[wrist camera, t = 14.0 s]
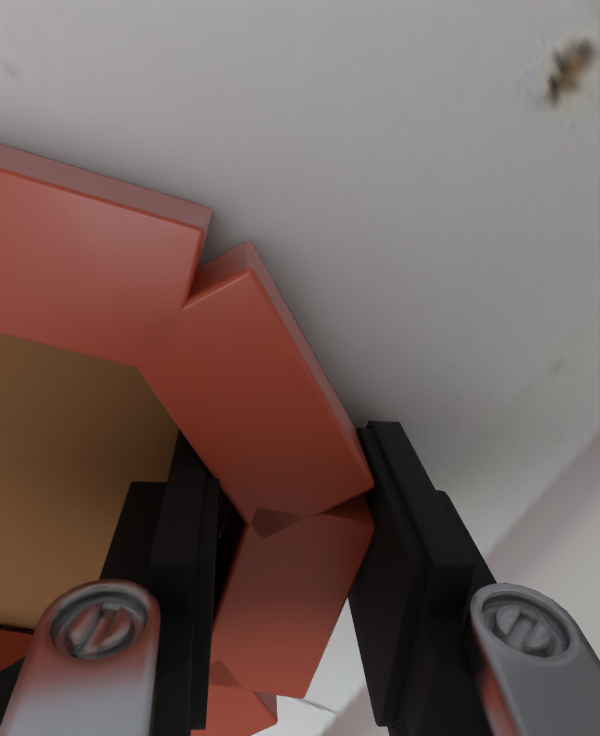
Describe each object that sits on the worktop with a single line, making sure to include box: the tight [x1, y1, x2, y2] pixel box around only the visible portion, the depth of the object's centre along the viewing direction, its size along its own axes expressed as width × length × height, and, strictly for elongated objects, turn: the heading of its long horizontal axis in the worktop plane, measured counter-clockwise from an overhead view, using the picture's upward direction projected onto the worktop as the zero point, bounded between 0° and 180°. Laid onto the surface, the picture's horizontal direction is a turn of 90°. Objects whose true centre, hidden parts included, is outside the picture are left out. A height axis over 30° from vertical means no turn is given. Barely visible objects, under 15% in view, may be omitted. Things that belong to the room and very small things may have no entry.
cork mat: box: [0, 334, 225, 630], centre depth 11 cm, size 7×7×1 cm
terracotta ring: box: [0, 144, 374, 736], centre depth 9 cm, size 11×11×2 cm
